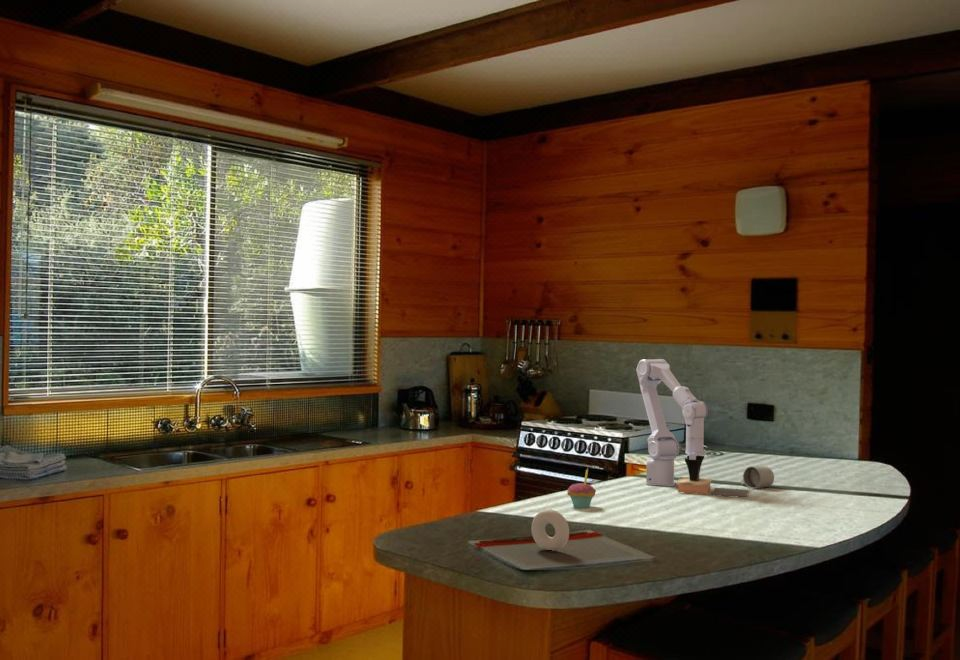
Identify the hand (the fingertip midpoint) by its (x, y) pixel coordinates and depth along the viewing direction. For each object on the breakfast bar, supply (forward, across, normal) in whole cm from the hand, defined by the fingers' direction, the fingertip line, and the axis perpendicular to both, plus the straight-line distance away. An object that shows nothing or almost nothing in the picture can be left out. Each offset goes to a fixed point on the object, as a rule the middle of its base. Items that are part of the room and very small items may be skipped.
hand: (694, 478), depth 294 cm
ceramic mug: (+4, +16, -19) cm, 25 cm away
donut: (+4, -96, +24) cm, 99 cm away
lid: (+1, 0, 0) cm, 1 cm away
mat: (+4, +1, -12) cm, 12 cm away
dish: (+4, 0, 0) cm, 4 cm away
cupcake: (+4, -40, +30) cm, 50 cm away
